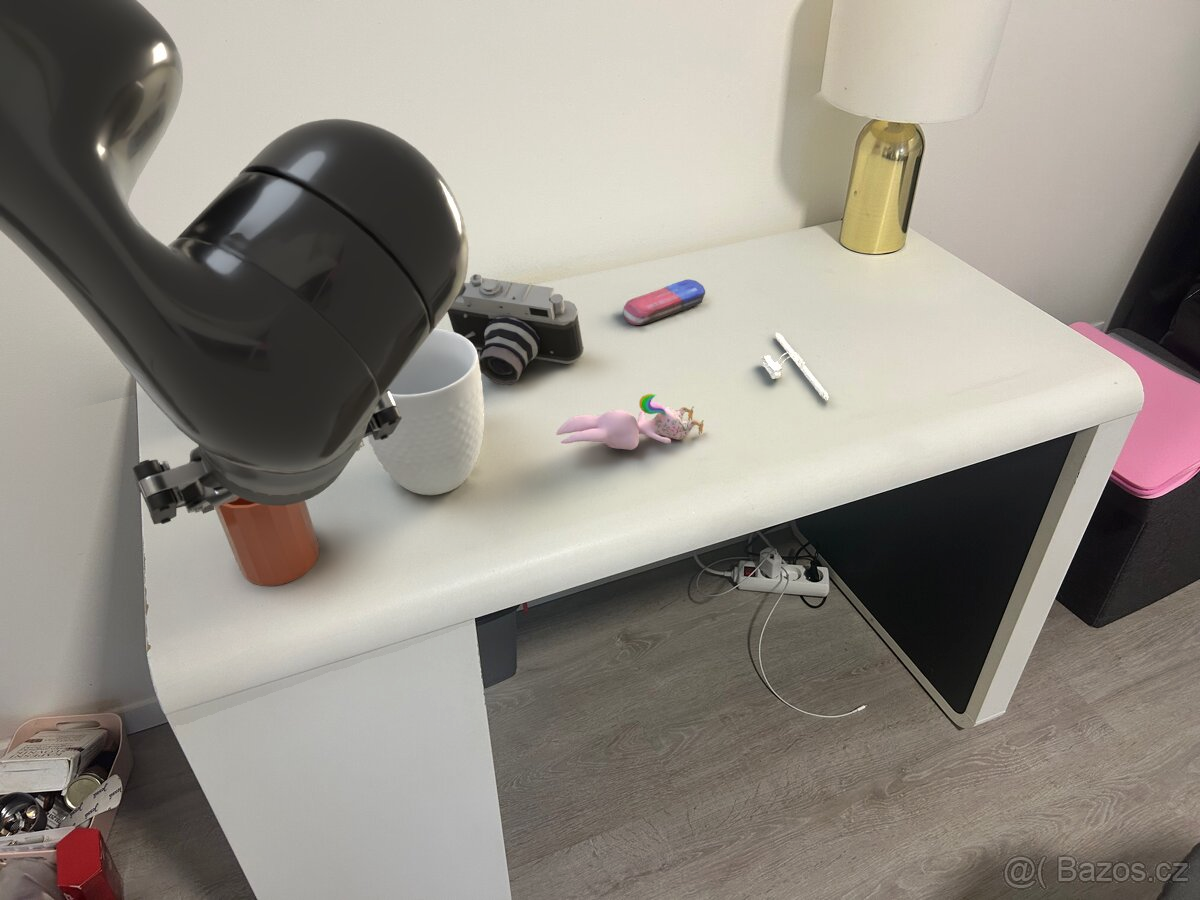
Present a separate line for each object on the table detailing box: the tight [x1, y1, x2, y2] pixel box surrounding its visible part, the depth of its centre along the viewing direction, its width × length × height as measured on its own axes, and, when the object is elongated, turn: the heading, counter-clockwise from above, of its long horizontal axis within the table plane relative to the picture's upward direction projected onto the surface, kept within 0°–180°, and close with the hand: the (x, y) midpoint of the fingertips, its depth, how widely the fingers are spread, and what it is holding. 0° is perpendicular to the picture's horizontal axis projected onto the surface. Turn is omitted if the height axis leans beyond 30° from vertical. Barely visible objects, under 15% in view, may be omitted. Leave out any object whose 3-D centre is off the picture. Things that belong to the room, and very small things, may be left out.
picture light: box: [760, 332, 830, 402], centre depth 95 cm, size 14×4×2 cm, turn 14°
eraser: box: [622, 279, 706, 326], centre depth 105 cm, size 11×4×2 cm, turn 123°
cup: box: [214, 498, 320, 587], centre depth 71 cm, size 7×7×9 cm
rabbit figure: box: [555, 393, 706, 451], centre depth 83 cm, size 6×6×15 cm
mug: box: [367, 328, 485, 496], centre depth 79 cm, size 15×11×13 cm
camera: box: [447, 273, 585, 385], centre depth 93 cm, size 16×9×10 cm, turn 73°
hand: (269, 471), depth 55 cm, fingers open, 8 cm apart
